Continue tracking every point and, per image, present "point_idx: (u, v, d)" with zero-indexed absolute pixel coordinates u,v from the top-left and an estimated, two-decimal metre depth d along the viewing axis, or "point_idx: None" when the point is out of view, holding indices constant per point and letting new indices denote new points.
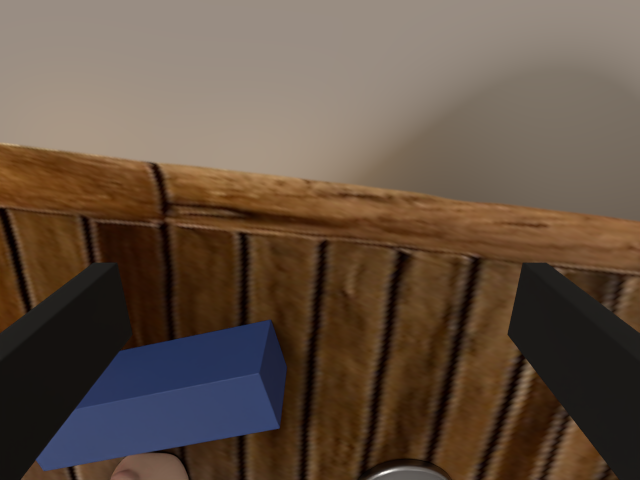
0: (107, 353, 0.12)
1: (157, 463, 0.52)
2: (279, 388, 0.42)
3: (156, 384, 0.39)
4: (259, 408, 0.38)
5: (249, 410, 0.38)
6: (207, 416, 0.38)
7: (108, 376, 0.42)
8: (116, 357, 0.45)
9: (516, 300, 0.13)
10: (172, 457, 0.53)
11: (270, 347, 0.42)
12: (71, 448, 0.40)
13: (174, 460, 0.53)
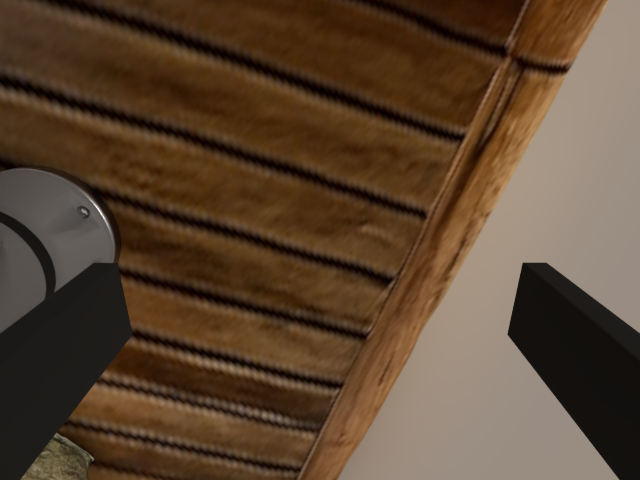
0: (107, 353, 0.12)
1: None
2: None
3: None
4: None
5: None
6: None
7: None
8: None
9: (516, 300, 0.13)
10: None
11: None
12: None
13: None
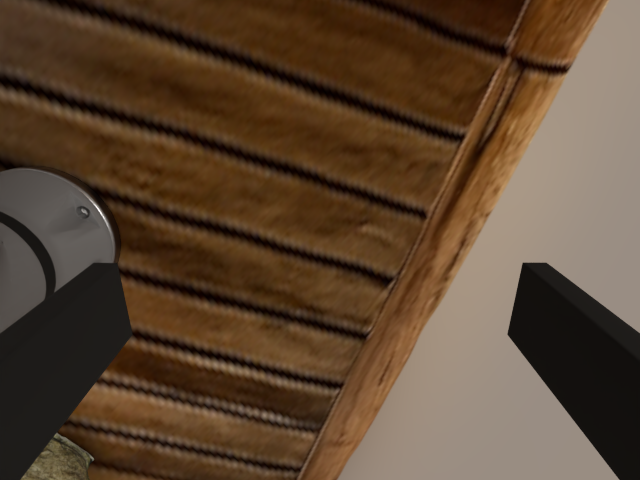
0: (107, 353, 0.12)
1: None
2: None
3: None
4: None
5: None
6: None
7: None
8: None
9: (516, 300, 0.13)
10: None
11: None
12: None
13: None
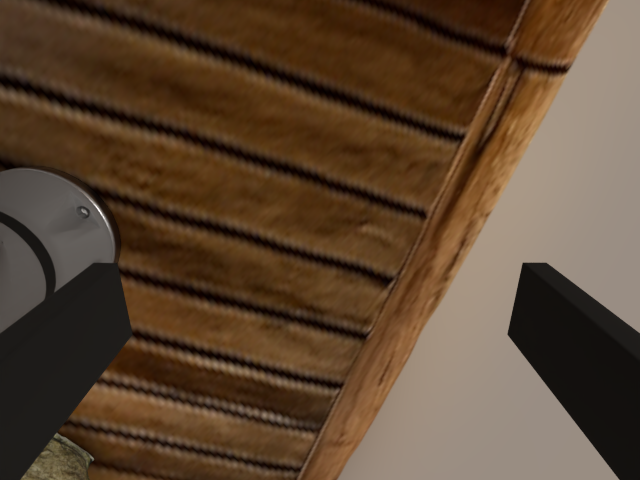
0: (107, 353, 0.12)
1: None
2: None
3: None
4: None
5: None
6: None
7: None
8: None
9: (516, 300, 0.13)
10: None
11: None
12: None
13: None
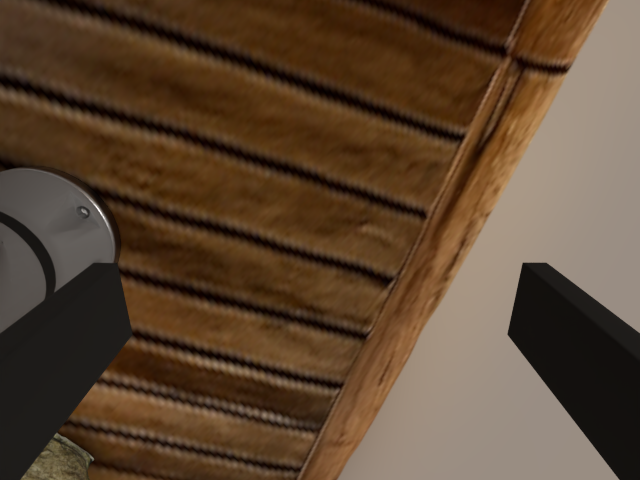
0: (107, 353, 0.12)
1: None
2: None
3: None
4: None
5: None
6: None
7: None
8: None
9: (516, 300, 0.13)
10: None
11: None
12: None
13: None
